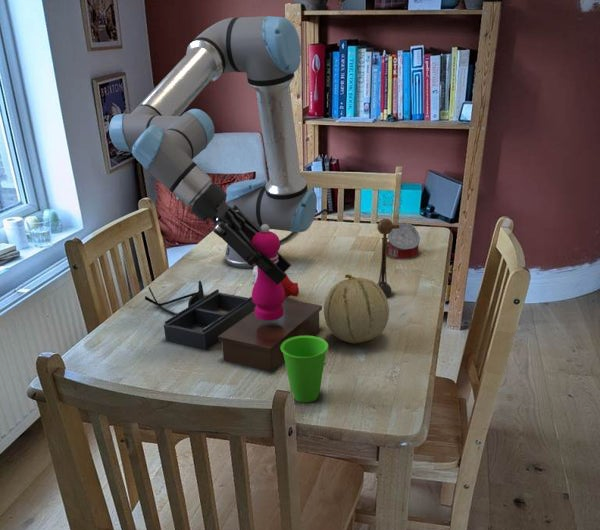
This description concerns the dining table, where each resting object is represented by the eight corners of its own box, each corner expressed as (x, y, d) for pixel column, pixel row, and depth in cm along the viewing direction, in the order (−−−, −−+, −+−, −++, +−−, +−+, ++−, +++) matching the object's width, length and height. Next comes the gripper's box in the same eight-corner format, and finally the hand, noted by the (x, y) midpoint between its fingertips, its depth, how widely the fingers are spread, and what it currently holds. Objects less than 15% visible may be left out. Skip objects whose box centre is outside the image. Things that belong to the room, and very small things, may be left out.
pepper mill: (281, 322, 136) (278, 230, 126) (249, 320, 138) (242, 228, 127) (288, 309, 142) (285, 219, 132) (257, 307, 144) (252, 218, 133)
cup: (281, 385, 129) (278, 336, 123) (325, 382, 129) (325, 334, 124) (284, 409, 121) (281, 358, 115) (331, 406, 122) (331, 355, 116)
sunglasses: (155, 295, 172) (152, 277, 170) (208, 294, 171) (206, 277, 169) (138, 321, 158) (135, 302, 155) (196, 321, 157) (194, 302, 154)
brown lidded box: (274, 319, 157) (273, 296, 153) (322, 328, 151) (322, 305, 148) (220, 361, 139) (217, 336, 135) (272, 373, 133) (270, 347, 130)
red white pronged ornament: (254, 286, 174) (306, 298, 171) (237, 302, 165) (292, 315, 161) (256, 255, 169) (309, 267, 166) (239, 269, 160) (295, 282, 156)
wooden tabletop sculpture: (394, 290, 170) (398, 215, 160) (396, 297, 166) (400, 221, 156) (372, 291, 170) (374, 216, 160) (373, 298, 166) (376, 221, 156)
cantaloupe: (370, 360, 137) (372, 295, 129) (311, 345, 144) (310, 282, 136) (398, 334, 148) (402, 272, 140) (343, 321, 155) (343, 261, 147)
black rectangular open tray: (218, 306, 164) (217, 288, 162) (256, 314, 160) (255, 295, 157) (165, 340, 148) (162, 321, 145) (206, 350, 143) (204, 330, 141)
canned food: (414, 264, 200) (432, 238, 194) (401, 271, 193) (419, 244, 186) (387, 243, 203) (404, 216, 197) (373, 248, 195) (390, 221, 189)
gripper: (201, 196, 138) (279, 271, 144) (176, 221, 122) (264, 303, 129) (223, 171, 134) (302, 248, 141) (200, 193, 119) (290, 279, 125)
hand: (284, 274), depth 135 cm, fingers closed on pepper mill, 5 cm apart
